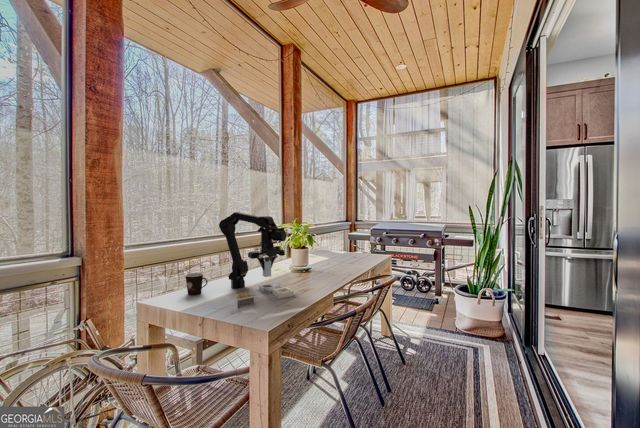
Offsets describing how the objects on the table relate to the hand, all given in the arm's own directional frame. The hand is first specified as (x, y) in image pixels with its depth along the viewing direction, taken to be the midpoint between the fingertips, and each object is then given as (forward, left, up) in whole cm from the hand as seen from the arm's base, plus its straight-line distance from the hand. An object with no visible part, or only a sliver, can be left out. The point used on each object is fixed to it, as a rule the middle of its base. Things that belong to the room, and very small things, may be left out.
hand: (266, 269), depth 160 cm
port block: (+4, -10, -11) cm, 16 cm away
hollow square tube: (0, 0, -11) cm, 11 cm away
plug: (0, 0, -3) cm, 3 cm away
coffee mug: (-32, +18, -13) cm, 39 cm away
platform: (-16, -13, -13) cm, 25 cm away
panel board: (+2, -6, -12) cm, 14 cm away
